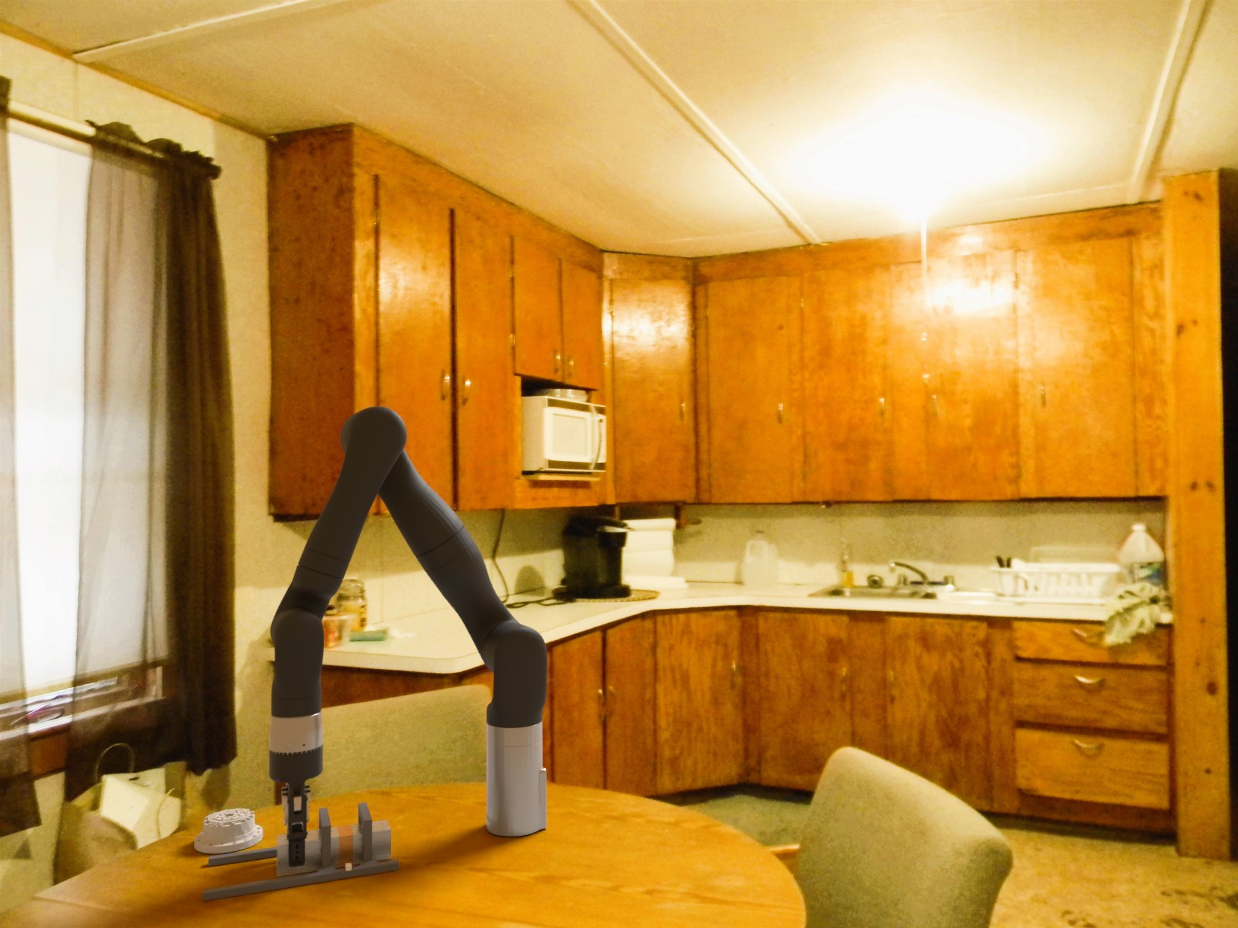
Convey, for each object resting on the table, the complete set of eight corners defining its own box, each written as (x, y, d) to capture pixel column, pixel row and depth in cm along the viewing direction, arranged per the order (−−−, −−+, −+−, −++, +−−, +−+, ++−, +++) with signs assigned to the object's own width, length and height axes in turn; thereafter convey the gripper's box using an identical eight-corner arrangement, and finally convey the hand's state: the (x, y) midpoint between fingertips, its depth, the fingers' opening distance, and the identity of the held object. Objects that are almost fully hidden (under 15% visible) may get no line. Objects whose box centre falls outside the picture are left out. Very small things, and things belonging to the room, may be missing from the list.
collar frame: (387, 837, 141) (387, 794, 141) (399, 869, 128) (399, 822, 128) (208, 863, 131) (209, 816, 131) (202, 900, 118) (203, 849, 119)
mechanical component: (179, 853, 136) (237, 857, 134) (180, 824, 136) (237, 828, 134) (221, 829, 145) (275, 833, 143) (221, 802, 146) (275, 806, 144)
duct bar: (387, 848, 136) (387, 819, 136) (390, 858, 132) (391, 829, 132) (276, 865, 130) (276, 835, 130) (277, 876, 126) (277, 845, 126)
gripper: (326, 752, 125) (325, 869, 124) (320, 729, 138) (319, 834, 137) (269, 759, 122) (268, 878, 121) (268, 734, 135) (268, 841, 134)
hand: (295, 854), depth 129 cm, fingers open, 8 cm apart
